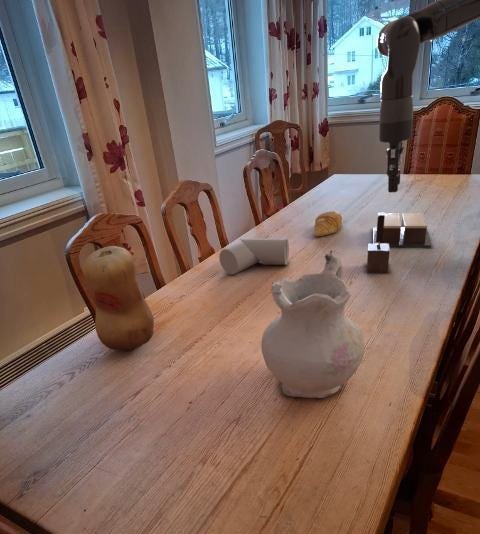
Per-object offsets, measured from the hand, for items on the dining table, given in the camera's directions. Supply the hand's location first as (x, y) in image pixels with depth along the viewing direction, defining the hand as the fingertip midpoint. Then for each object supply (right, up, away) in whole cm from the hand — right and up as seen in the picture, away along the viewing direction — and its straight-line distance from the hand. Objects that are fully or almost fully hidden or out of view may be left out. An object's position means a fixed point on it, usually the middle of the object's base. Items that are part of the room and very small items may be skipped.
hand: (394, 188), depth 110 cm
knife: (+2, -18, +21) cm, 28 cm away
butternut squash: (-66, -40, -5) cm, 78 cm away
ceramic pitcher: (-24, -46, -22) cm, 56 cm away
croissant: (-6, +1, +56) cm, 56 cm away
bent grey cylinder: (-33, -16, +31) cm, 48 cm away
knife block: (+2, -18, +21) cm, 28 cm away
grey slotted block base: (+17, -5, +41) cm, 45 cm away
